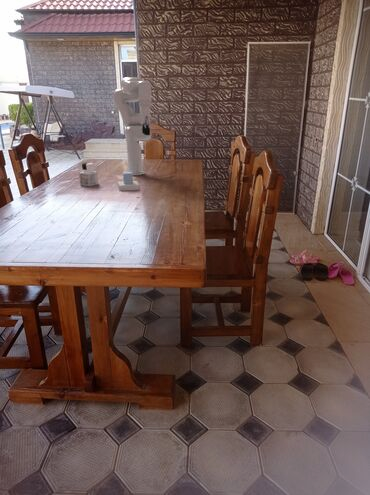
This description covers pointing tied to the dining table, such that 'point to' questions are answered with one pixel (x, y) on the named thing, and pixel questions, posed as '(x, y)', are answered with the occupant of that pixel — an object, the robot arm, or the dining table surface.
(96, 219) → the dining table surface
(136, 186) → the base tile
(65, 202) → the dining table surface
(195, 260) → the dining table surface
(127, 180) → the blue block
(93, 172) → the container
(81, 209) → the dining table surface
